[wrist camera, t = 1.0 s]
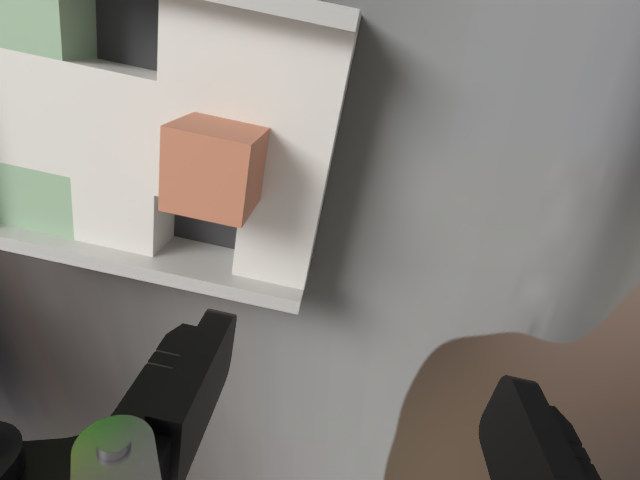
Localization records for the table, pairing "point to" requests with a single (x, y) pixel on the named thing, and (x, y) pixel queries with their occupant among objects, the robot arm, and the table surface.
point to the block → (211, 168)
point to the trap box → (144, 134)
